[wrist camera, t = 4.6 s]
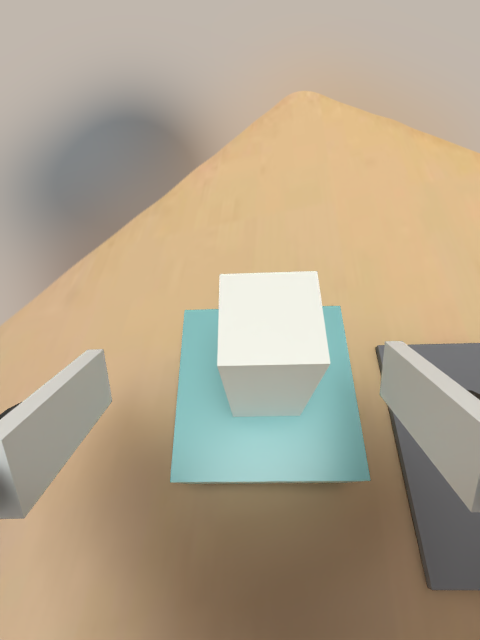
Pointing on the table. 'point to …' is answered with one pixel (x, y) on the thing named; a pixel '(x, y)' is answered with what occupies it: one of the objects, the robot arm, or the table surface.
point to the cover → (267, 388)
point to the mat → (441, 485)
